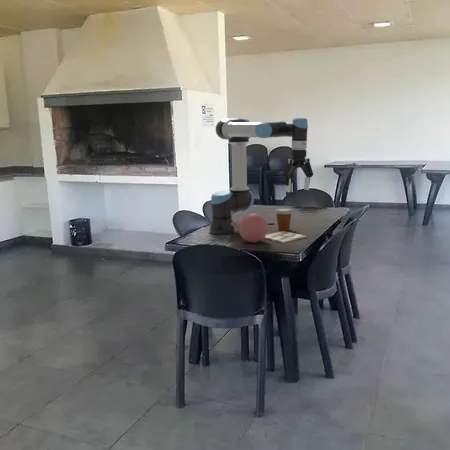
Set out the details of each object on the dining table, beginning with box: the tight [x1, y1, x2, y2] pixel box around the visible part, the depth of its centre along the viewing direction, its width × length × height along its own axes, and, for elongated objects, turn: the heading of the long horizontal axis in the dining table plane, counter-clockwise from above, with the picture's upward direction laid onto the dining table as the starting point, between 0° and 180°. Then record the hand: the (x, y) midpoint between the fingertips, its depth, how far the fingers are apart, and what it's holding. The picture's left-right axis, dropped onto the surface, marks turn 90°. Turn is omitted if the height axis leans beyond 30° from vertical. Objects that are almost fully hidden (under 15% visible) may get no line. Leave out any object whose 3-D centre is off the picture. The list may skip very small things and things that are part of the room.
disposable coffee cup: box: [275, 207, 293, 232], centre depth 306 cm, size 10×10×12 cm
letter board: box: [263, 231, 308, 244], centre depth 287 cm, size 18×18×1 cm
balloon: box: [231, 212, 269, 244], centre depth 278 cm, size 15×20×15 cm
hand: (297, 190), depth 270 cm, fingers open, 13 cm apart
